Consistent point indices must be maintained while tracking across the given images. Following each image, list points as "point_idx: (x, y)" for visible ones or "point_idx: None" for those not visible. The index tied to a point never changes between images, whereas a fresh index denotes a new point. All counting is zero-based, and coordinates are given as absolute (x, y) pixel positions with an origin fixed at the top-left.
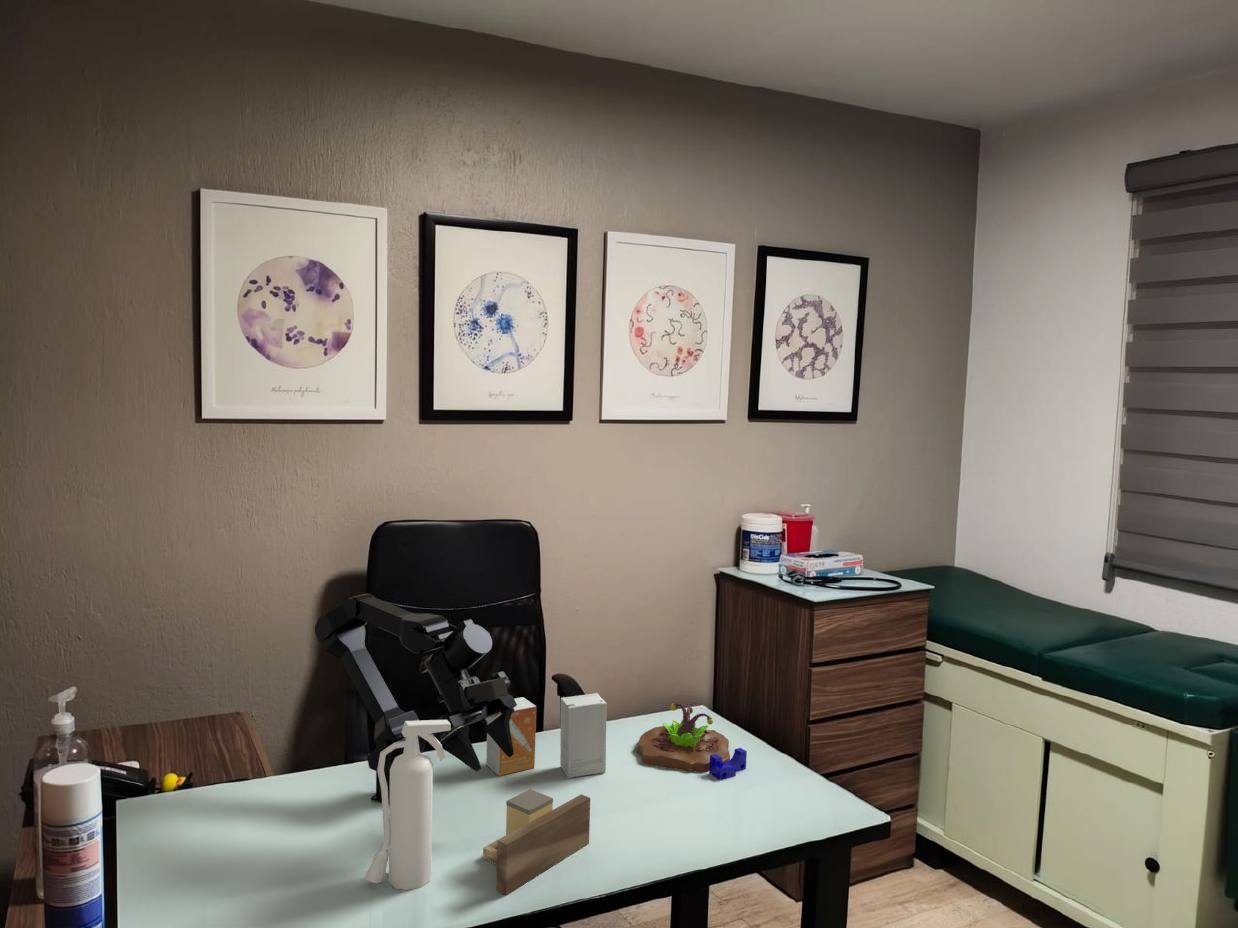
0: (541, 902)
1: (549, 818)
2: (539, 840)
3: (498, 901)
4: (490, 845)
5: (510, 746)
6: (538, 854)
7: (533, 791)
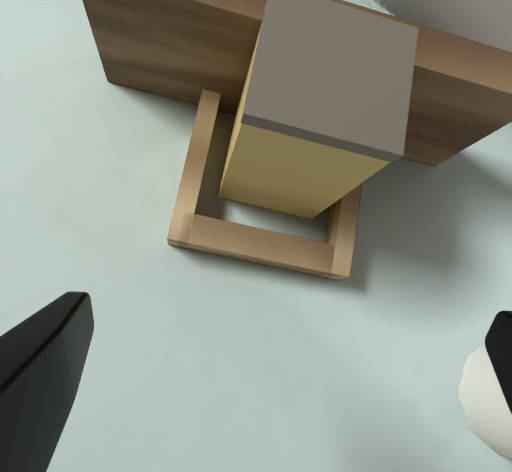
0: None
1: None
2: None
3: None
4: (328, 264)
5: (59, 324)
6: None
7: (257, 88)
